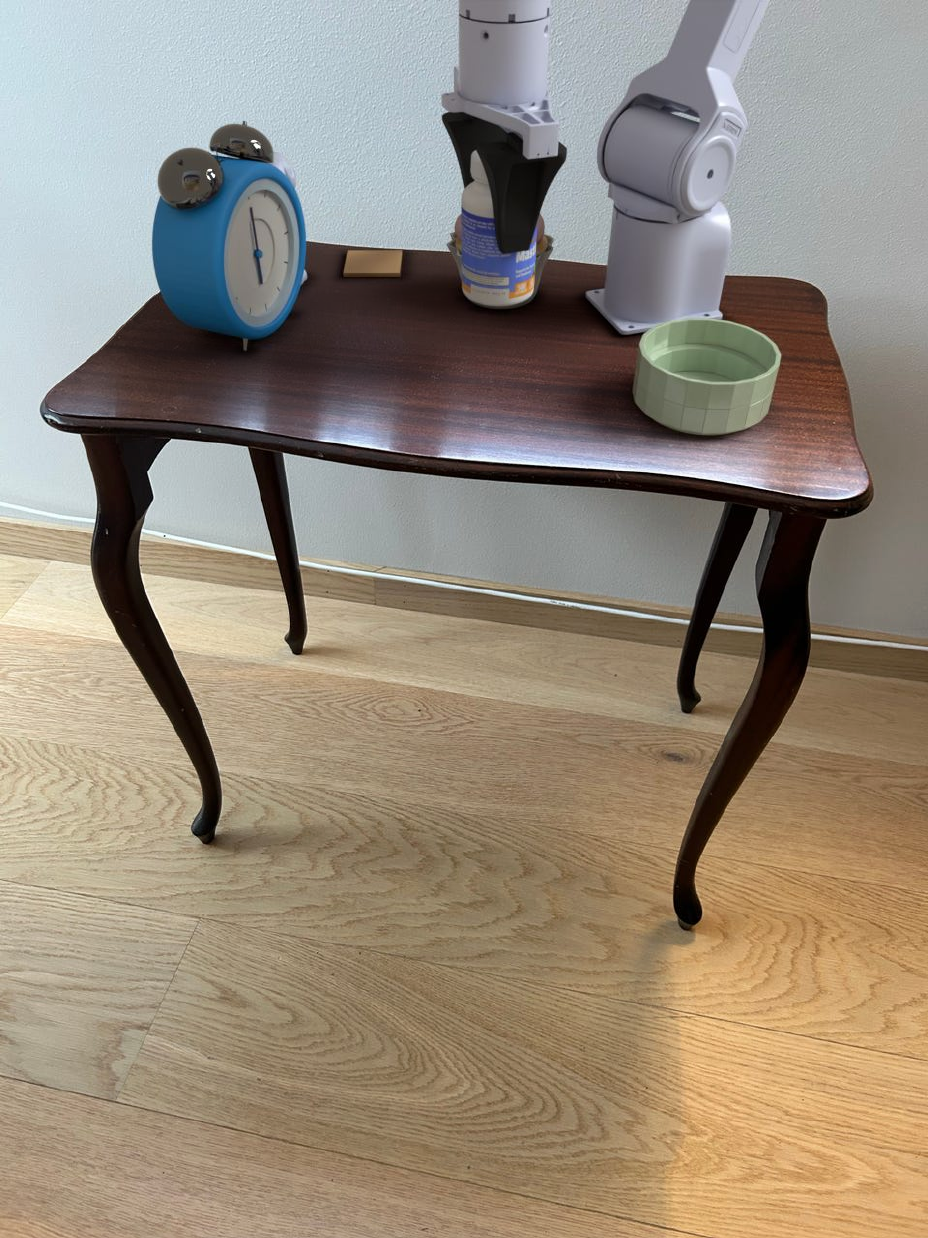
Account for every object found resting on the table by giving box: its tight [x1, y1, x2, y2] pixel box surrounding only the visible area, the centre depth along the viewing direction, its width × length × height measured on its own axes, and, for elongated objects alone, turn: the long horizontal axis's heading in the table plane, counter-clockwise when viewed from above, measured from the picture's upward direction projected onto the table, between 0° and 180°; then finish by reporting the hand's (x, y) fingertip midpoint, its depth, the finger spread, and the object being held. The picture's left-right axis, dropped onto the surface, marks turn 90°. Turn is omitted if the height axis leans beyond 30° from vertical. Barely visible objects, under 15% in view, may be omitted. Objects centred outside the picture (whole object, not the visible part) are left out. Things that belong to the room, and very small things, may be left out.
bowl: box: [632, 318, 782, 436], centre depth 70 cm, size 10×10×4 cm
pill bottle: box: [460, 150, 537, 306], centre depth 68 cm, size 5×5×10 cm
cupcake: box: [446, 213, 555, 310], centre depth 81 cm, size 9×9×10 cm
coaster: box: [342, 249, 403, 278], centre depth 90 cm, size 5×5×1 cm
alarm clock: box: [151, 120, 307, 352], centre depth 75 cm, size 13×6×15 cm, turn 157°
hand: (499, 234), depth 68 cm, fingers closed on pill bottle, 5 cm apart
